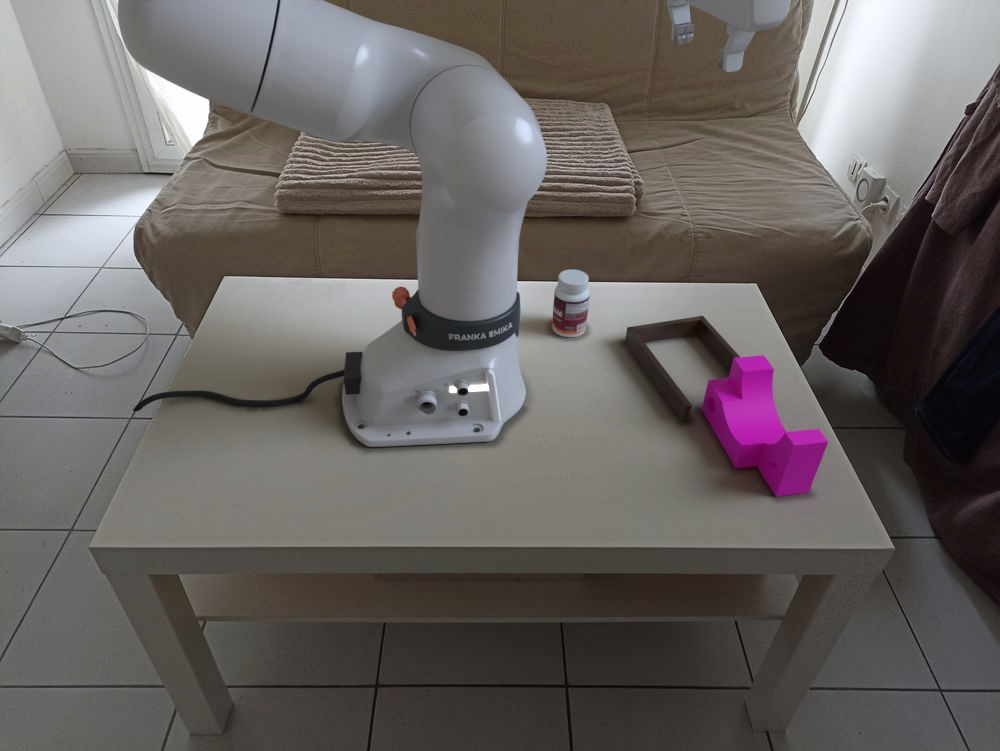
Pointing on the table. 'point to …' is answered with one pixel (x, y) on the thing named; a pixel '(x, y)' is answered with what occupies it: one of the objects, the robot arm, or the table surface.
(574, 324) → the pill bottle
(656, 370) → the bay
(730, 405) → the toy block
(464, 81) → the robot arm
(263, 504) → the table surface
